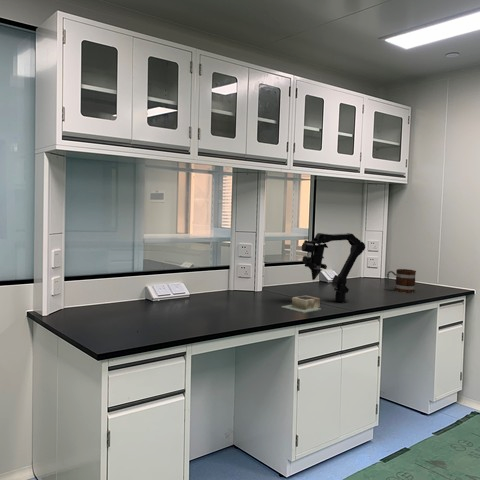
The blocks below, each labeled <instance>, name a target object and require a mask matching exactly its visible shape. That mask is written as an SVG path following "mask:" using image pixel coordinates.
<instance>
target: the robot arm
mask: <svg viewBox="0 0 480 480" xmlns="http://www.w3.org/2000/svg"><path fill="white" fill-rule="evenodd" d="M333 241H336V242H337V241H347V242H348V243H349V245H350V250H349V251H350V252H349V255H348V256H347V259H346V260H345V262H344V264H343V266H342V268H341V270H340V272H339V274H334V276H333V278H332V279H331V286H332V287H333V289H334V291H335V298H334V299H333V300H332V301H333V302H336V303H343V304H344V303H348V302H349V301H348V300H347V293H349V291H350V289H349V288H348V287H347V280H348V275H349V274H350V272H351V271H352V268H353V266H354V264H355V262H356V260H357V258H358V257H359V256H360V255H362V253H364V251H365V250H366V244H365V243H364V242H363V241H362V240H360V239H359V238H358V237H356V236H355V235H354V234H353V233H349V232H347V233H333V234H329V233H323V232H317V233H316V234H315V236H314V237H313V239H312V240H311V241H310V240H307V239H305V240H304V241H303V243H302V245H301V251H302V252H304V253H311V256H307V255H304V256H303V257H302V260H301V261H302V262H303V264H304V267H305V268H308V269H310V272H311V279H312V281H315V280H316V279H317V277H318V276H319V274H320V273H321V272H322V270H323V269H324V270H327V267H328V266H327V264H325V263H322V262H323V259H325V257H324V252H325V248H327V249H328V248H329V246H328V244H327V243H330V242H333Z"/></svg>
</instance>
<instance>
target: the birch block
mask: <svg viewBox="0 0 480 480" xmlns="http://www.w3.org/2000/svg"><path fill="white" fill-rule="evenodd" d="M320 304H321V298H320V297H315V296H311V295H301V296H294V297H292V298H291V305H292V307H296V308H300V309H304V310H307V309H313V308H320V306H321V305H320Z"/></svg>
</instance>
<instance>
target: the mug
mask: <svg viewBox="0 0 480 480" xmlns="http://www.w3.org/2000/svg"><path fill="white" fill-rule="evenodd" d="M395 272H396V273H395ZM395 272H394V271H393V270H389V271H388V272H387V274H386V277H387V279H386V282H387V284H386V285H387V287H388V288H390V289H391V288H395V289H394V291H395V292H397V291H398V293H402V292H406V293H405V294H413V293H412V292H414V291H415V288H416V274H417V270H414V269H406V268H405V269H404V268H397V269H396V271H395ZM390 274H393V275H394V276H396V277H395V285H390V284H389V283H390V276H389V275H390ZM415 292H416V291H415ZM415 292H414V293H415Z"/></svg>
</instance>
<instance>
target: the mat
mask: <svg viewBox="0 0 480 480" xmlns="http://www.w3.org/2000/svg"><path fill="white" fill-rule="evenodd" d="M281 308H282V309H287V310H291V311H295V312H297V313H298V312H299V313H303V314H306V313H311V312H315V311H321V310H322V308H320V307H318V308H313V309H307V310H304V309H300V308H296V307H292V304H287V305H282V306H281Z"/></svg>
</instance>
